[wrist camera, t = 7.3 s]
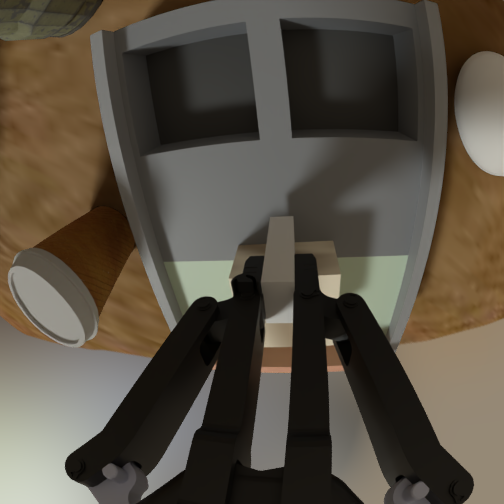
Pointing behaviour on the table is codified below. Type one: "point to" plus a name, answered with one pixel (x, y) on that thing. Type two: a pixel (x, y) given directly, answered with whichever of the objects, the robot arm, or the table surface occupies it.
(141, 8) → the table surface
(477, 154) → the flower in vase
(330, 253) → the birch block
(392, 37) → the box
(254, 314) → the robot arm
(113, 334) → the table surface
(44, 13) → the thermos
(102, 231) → the disposable coffee cup
